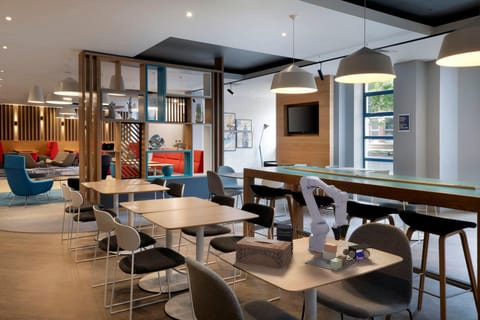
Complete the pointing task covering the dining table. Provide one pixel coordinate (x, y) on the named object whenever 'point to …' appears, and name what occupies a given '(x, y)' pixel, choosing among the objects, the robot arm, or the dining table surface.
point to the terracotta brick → (330, 247)
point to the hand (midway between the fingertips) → (340, 238)
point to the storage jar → (285, 234)
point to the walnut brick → (343, 259)
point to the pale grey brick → (329, 255)
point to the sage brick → (336, 263)
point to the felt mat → (327, 263)
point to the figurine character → (353, 254)
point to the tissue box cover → (263, 252)
